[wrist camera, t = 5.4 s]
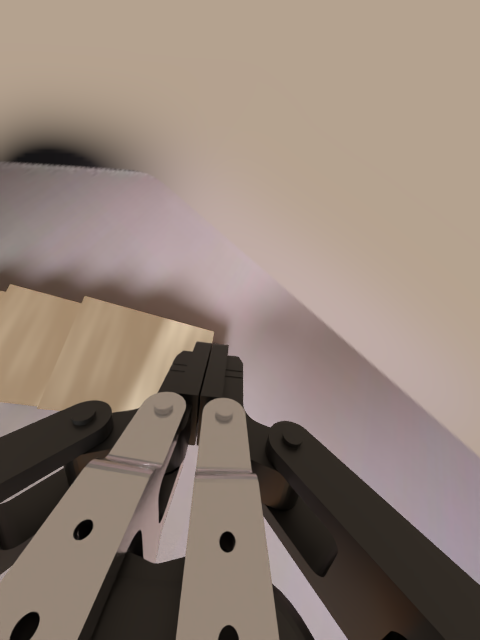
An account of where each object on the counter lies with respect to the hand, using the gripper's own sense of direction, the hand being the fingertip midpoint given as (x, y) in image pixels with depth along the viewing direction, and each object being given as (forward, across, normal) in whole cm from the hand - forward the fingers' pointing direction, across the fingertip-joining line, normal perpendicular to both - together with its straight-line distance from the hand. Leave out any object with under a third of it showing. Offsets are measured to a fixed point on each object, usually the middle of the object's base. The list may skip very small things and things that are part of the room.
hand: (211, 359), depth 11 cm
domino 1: (+4, +5, +4) cm, 7 cm away
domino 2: (+4, +1, +4) cm, 5 cm away
